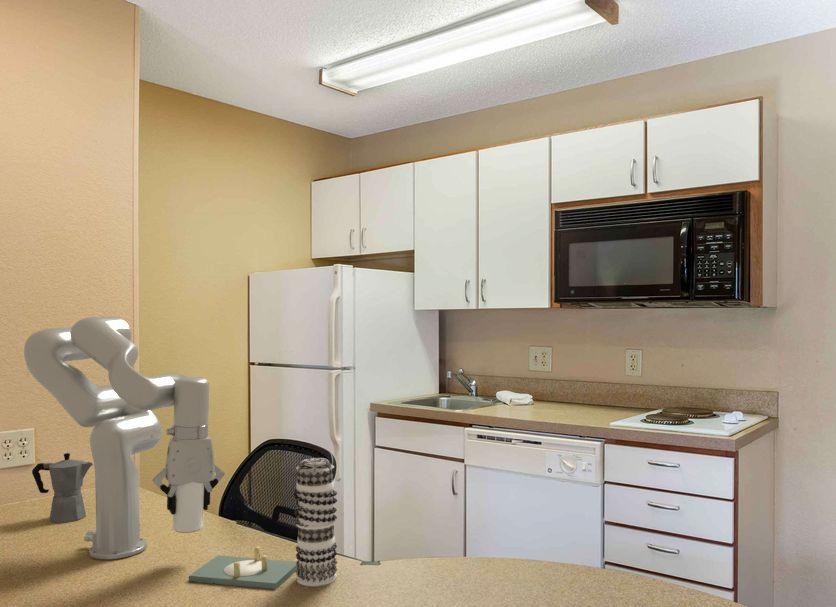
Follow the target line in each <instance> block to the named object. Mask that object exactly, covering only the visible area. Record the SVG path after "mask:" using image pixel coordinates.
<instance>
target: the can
mask: <svg viewBox="0 0 836 607" xmlns="http://www.w3.org/2000/svg"><path fill="white" fill-rule="evenodd" d="M174 496H175V497H176V513H175V514H173V515H172V516H173V517H172V519H173V520H172V529H173V531H175V532H176V533H181V534H190V533H196V532H199V531H200V530H201V529H202V528H203V526H204V509H203V506H204V483H195V482H191V483H189V484H185V485H179V486H177V489H176V491H175V493H174Z"/></svg>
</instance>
